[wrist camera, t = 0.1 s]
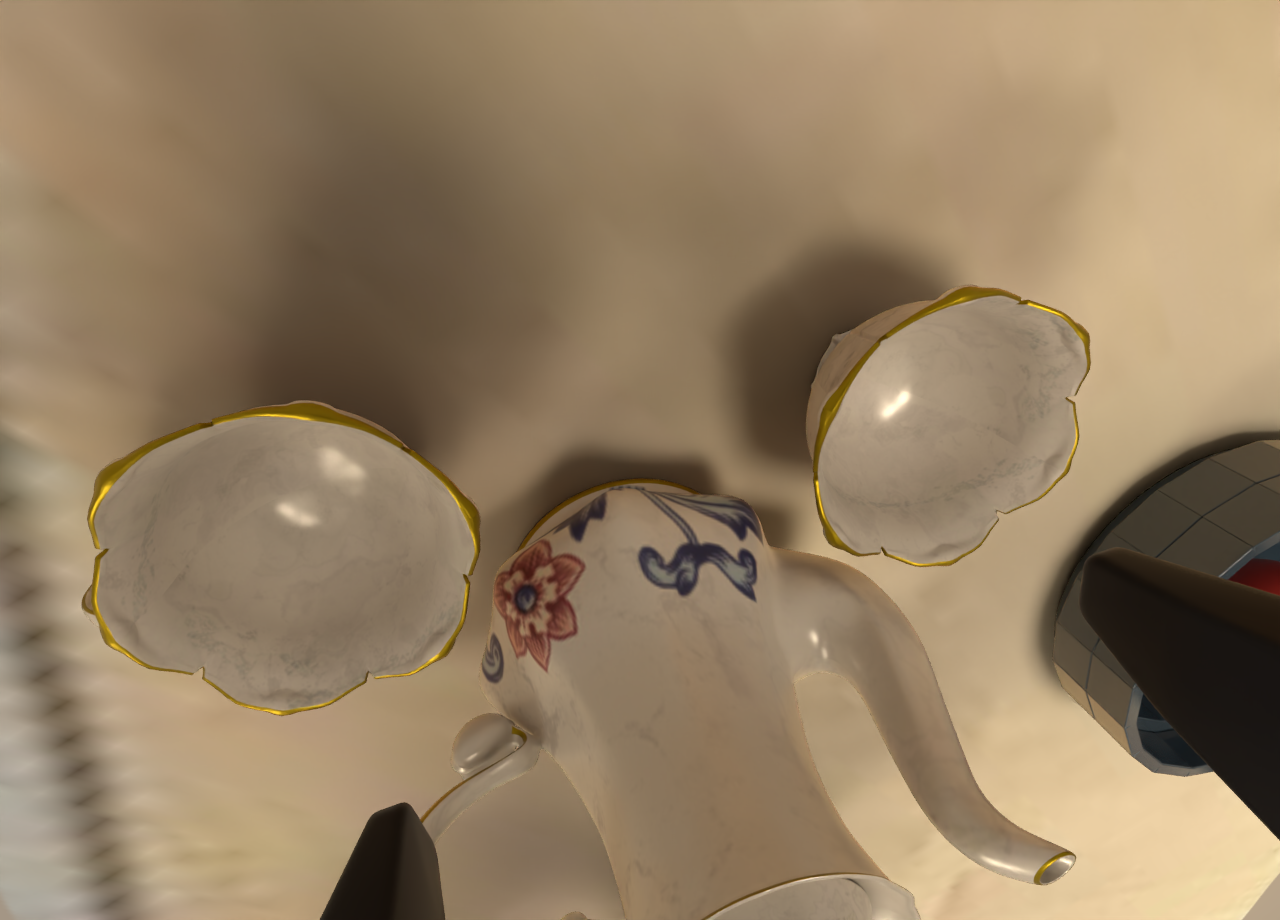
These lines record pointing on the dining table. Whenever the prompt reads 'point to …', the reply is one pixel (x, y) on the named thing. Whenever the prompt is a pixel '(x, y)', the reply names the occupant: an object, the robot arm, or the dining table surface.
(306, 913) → the dining table surface
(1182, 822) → the dining table surface
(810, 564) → the chinaware
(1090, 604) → the robot arm
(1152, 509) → the bowl
